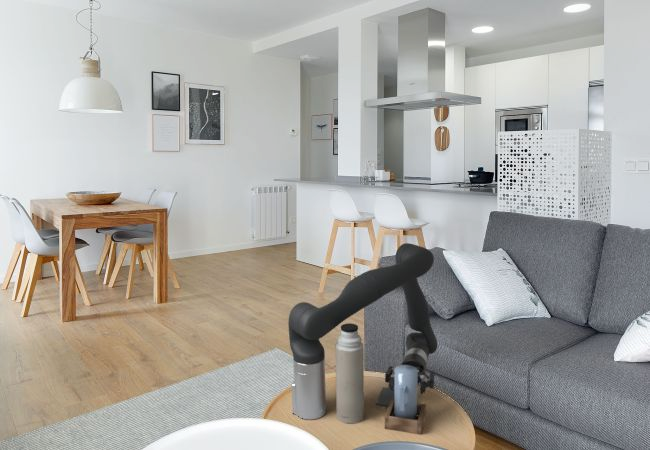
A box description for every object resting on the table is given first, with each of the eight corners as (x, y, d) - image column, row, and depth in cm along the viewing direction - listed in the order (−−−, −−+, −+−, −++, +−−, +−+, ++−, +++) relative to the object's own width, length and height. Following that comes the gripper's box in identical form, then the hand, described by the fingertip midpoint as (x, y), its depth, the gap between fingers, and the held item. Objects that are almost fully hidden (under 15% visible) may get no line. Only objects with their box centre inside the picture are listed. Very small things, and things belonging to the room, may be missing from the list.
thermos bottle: (331, 417, 152) (329, 327, 146) (347, 405, 158) (346, 318, 152) (353, 426, 147) (352, 333, 141) (369, 414, 153) (368, 324, 147)
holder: (384, 428, 146) (384, 417, 145) (391, 409, 155) (391, 399, 154) (420, 434, 142) (420, 422, 142) (425, 415, 152) (425, 404, 151)
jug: (390, 431, 144) (390, 378, 141) (396, 414, 153) (396, 363, 149) (413, 435, 142) (414, 381, 139) (418, 417, 151) (419, 366, 147)
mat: (376, 404, 158) (376, 403, 158) (382, 388, 167) (382, 387, 167) (409, 409, 155) (409, 407, 155) (414, 393, 164) (414, 391, 164)
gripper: (392, 350, 164) (381, 373, 149) (437, 355, 160) (432, 380, 145) (391, 372, 166) (381, 397, 151) (437, 378, 162) (431, 404, 146)
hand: (406, 389), depth 148 cm, fingers open, 8 cm apart
